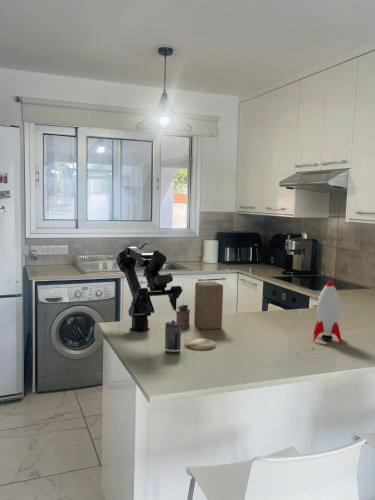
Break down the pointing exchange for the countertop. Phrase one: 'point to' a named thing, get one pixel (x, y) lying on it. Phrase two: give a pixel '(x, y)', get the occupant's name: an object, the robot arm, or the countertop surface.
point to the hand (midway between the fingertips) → (164, 311)
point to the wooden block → (208, 305)
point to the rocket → (328, 313)
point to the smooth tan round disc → (200, 344)
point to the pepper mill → (172, 337)
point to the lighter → (183, 316)
